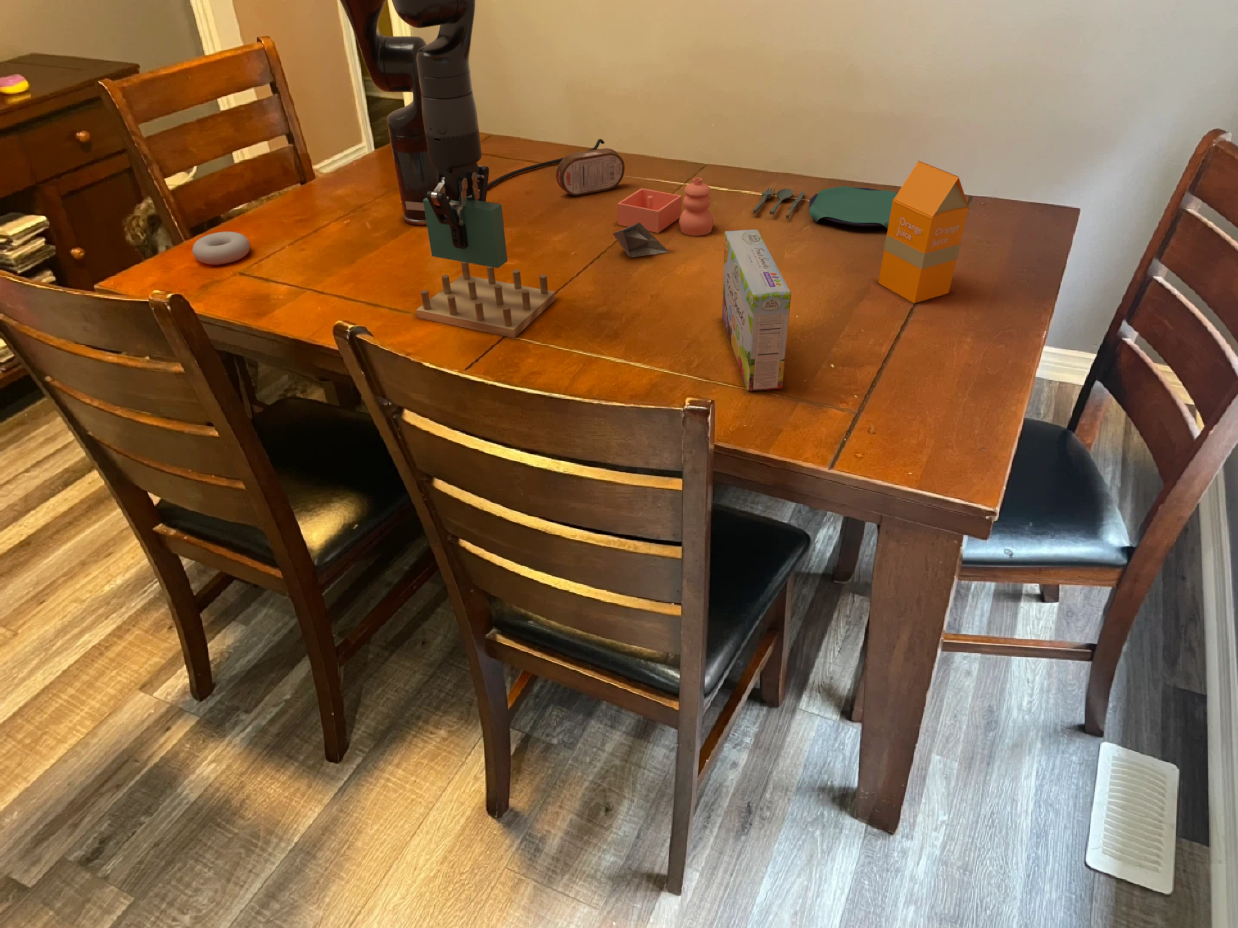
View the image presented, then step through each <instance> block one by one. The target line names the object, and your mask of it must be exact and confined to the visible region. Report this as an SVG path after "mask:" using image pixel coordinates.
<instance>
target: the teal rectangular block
mask: <svg viewBox="0 0 1238 928" xmlns="http://www.w3.org/2000/svg"><path fill="white" fill-rule="evenodd" d="M451 201H452V202H457V203H459V201H454V200H451ZM423 204H424V210H425V216H426V222H427V225H426V229H427V234H428V240H429V246H430V247H429V248H430V251H431V252H430V253H431V257H434V258H438V259H444V260H450V261H455V262H460V263H461V262H466V263H469V264H471V265H472V264H473V265H478V266H483V267H484V266H485V267H487V266H489V267H494V269H499V268H501V267H502V266H503V265H505V264H506V263H507V262H508V253H507V252H508V251H507V243H506V233H505V225H504V215H503V206H502V203H498V202H496V203H495V202H492V201H491V202H490V201H486V202H484V201H478V200H476V201H475V200H469V199H467V207H466V209H464V219H465V222H464V224H465V226H466V233H467V241H468V247H467V248H465V249H460V248H456V247H454V245H453V243H452V236H451V229H450V225H446V224H440V223H439V221H438V219H437V217H436V215H435V213H434V211H433V209H432V207H431V205H430V203H429V201H428V199H427V198H425V199H424V200H423ZM453 212H454V214H455V216H457V210H455V209H453ZM445 216H446V215H445Z"/></svg>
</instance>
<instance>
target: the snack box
mask: <svg viewBox="0 0 1238 928" xmlns="http://www.w3.org/2000/svg"><path fill="white" fill-rule="evenodd" d="M760 233H761V232H760V231H759V230H758V229H756V228H755V229H741V230H740V229H739V230H725V232H724V244H723V245H724V246H723V247H724V248H723V275H722V276H723V278H722V279H723V280H722V282H723V284H722V314H721V318H722V319H721V321H722V323H723V326H724V329H725V332H726V335H727V338H728V340H729V343H730V345H731V348H732V351H733V354H734V357H735V360H736V363H737V365H738V366H737V367H738V368H739V372H740V374H741V377H742V379H743V383H744V385H745V388H746V391H747V392H755V391H769V390H778V389H779V390H781V389H783V384H784V383H783V382H784V374H785V373H784V371H785V362H786V361H785V360H786V352H787V340H788V329H789V321H790V320H789V319H790V311H791V302H792V301H791V300H792V291H791V290H790V288H789V286H788V284H787V282H786V281H785V279H784V276H783V275H782V273H781V271H780V270H779V268H778V266H777V264H776V262H775V260H774V258H773V256H772V254H771V253H770V250H769V249H768V247H767V244H766V243H765V241H764V239H763V237H762V235H761V234H760Z"/></svg>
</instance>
